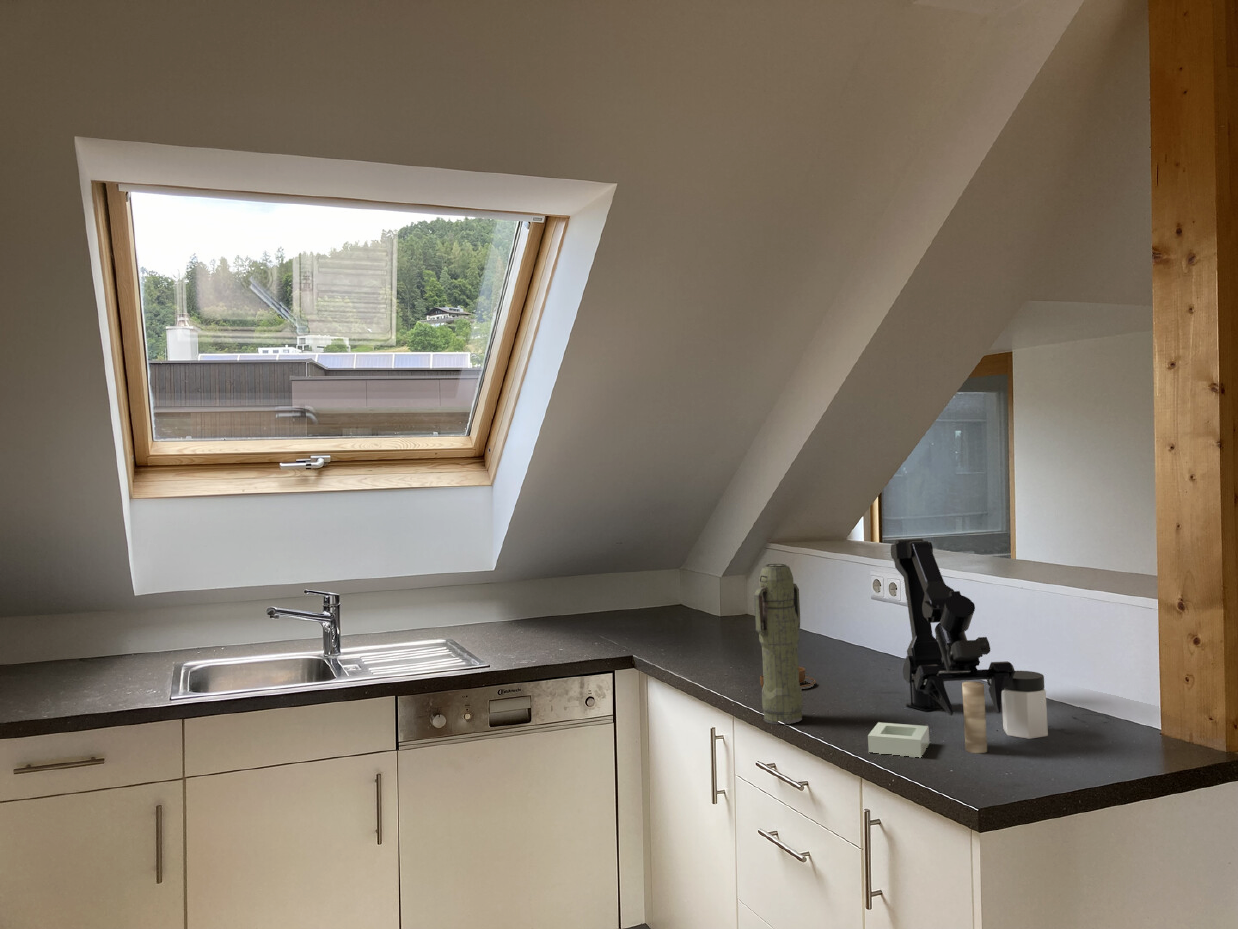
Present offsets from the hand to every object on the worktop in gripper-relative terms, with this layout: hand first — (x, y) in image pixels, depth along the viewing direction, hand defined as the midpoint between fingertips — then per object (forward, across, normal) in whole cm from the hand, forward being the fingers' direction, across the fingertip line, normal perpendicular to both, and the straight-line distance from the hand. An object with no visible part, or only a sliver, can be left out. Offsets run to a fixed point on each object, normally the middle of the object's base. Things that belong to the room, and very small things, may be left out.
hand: (975, 713), depth 186 cm
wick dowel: (+5, 0, +6) cm, 7 cm away
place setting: (-36, -30, +47) cm, 67 cm away
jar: (-2, +14, +13) cm, 19 cm away
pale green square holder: (+2, -14, +8) cm, 16 cm away
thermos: (-15, -34, +25) cm, 45 cm away
